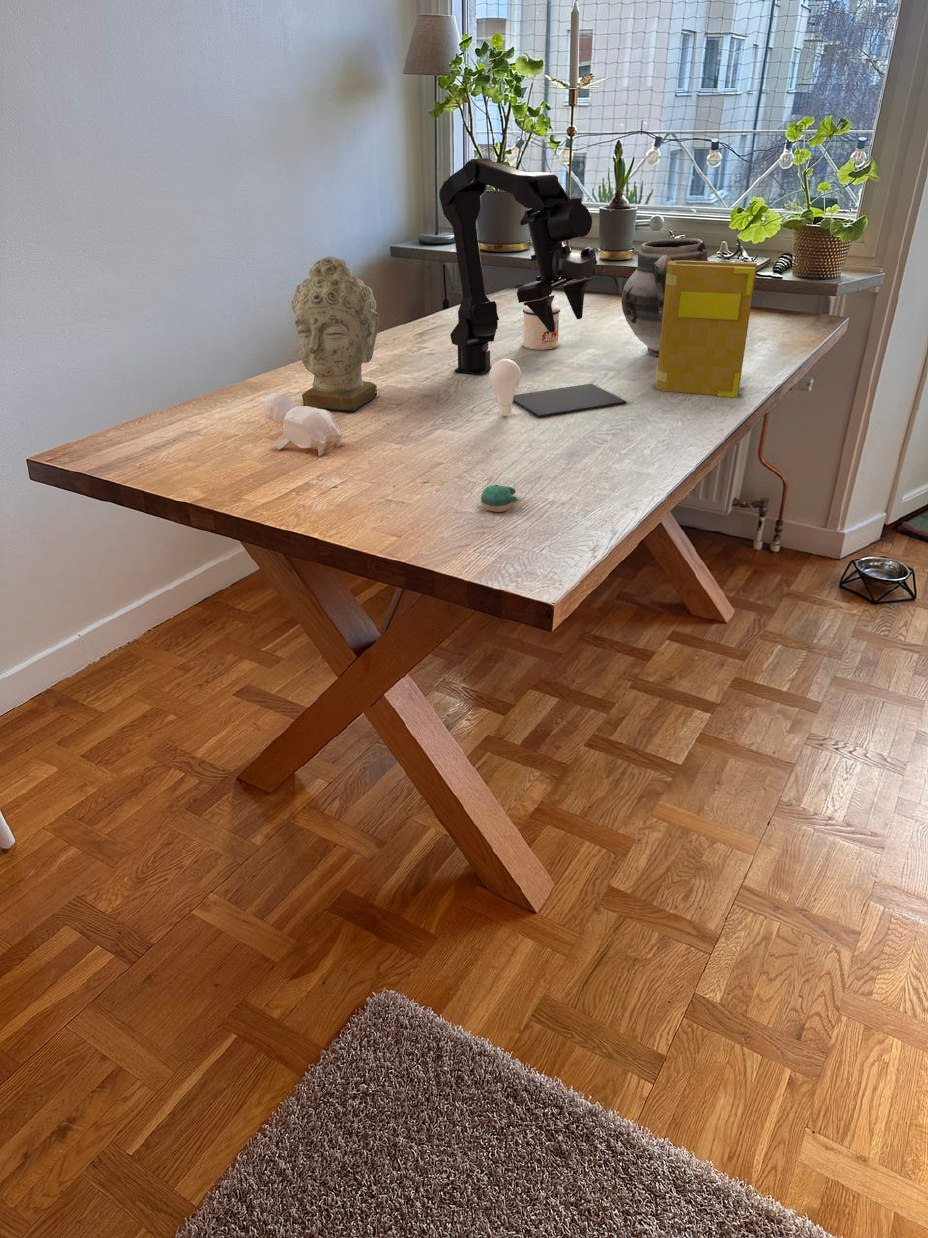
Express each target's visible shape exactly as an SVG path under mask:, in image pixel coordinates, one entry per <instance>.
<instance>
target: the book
mask: <svg viewBox="0 0 928 1238" xmlns="http://www.w3.org/2000/svg"><path fill="white" fill-rule="evenodd" d="M757 266H758V262H749V261H748V262H747V261H736V262H735V261H712V260H711V261H709V260H708V261H687V260H676V261H669V262H668V263H667V274H666V285H665V295H664V306H663V316H662V327H661V338H660V348H659V356H658V360H657V372H656V382H655V388H656V389H657V390H659V391H663V392H671V393H682V394H683V393H684V394H694V395H697V394H698V395H708V396H709V395H710V396H717V397H723V398H724V397H725V398H738V394H739V390H740V385H741V377H742V373H743V372H742V371H743V365H744V358H745V357H744V356H745V351H746V343H747V335H748V329H749V322H750V316H751V307H752V301H753V295H754V288H755V282H756V281H755V279H756V274H757Z"/></svg>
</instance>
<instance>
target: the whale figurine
mask: <svg viewBox="0 0 928 1238" xmlns="http://www.w3.org/2000/svg"><path fill="white" fill-rule="evenodd" d="M516 491H517V490H516V489H515V488H513V486H512V487H511V486H505V485H501V484H490V485H488V486H486V487H485V488H484V490H483V491H482V492H481V495H480V496H481V497H480V504H481V507H482V508H483V510H486V511H488V512H489V511H490V512H495V513H502V512H506V511H508V510H509V509H510V508H511V506H512V505H513V504H516V503H517V502H518V497H517V496H515V495H516V493H517V492H516Z"/></svg>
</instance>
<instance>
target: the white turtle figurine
mask: <svg viewBox="0 0 928 1238" xmlns="http://www.w3.org/2000/svg"><path fill="white" fill-rule="evenodd" d="M263 409H264V415H265V417H266V418H267V419H268V420H270V421H272V422H274V424H277V425H283V432H282V433H281V435H280V436H279V437H278V439H277V440H276V442H275V444H274V447H275V449H276V450H277V451H279V450H282V449H283V448H285V447H286V446H288V445H290V444H291V443H292V444H294V445H295V446H296V447H298V448H300V449H313V450H317V454H318V456H319V457H321V456H323V454H324V450H325V448H326V447H327V446H328V445H330V444H333V443H335V446H336V448H339V447H341V444H342V437H343V434H344V432H342V431H341V430H340V426H339V425H338V422H337V421H336V418H335V416H334V414H332V413H331V412H330V411H329V410H326V409H317V407H309V406H303V405H298V406H297V405H295V401H293V399H292V398H291V396H289V395H288V394H287V393H279V392H278V393H273V394H271V395H270V396H268V397H266V399H265V400H264V405H263Z"/></svg>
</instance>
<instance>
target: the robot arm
mask: <svg viewBox="0 0 928 1238" xmlns="http://www.w3.org/2000/svg"><path fill="white" fill-rule="evenodd" d="M489 187H492V188H495V189H497V190H500V191H502V192H505V193H508V194H510V195H512V196H513V198H514V201H516V203H518V204H519V205H521V206H522V207H523V208H525V209H528V210H525V211H524V214H523V216H522V218H521V219H520V222H519V225H520V226H521V227H522V226H527V227H528V230H529V235H530V239H531V243H532V248H533V252H534V254H531V255H530V260H531V262H534V261H536V264H537V269H538V273H539V275H538V276H536V277H535V280H536V281H532V282H528V283H526V284H524V285H522V286H519V287H518V289H517V291H516V297H517V300H518V304H521V303H523V306H524V307H525V306H528V307H529V308H530V309H531V310H532V311H533V312H534V313H535V314H536V316H537V317H538V318H539V319H540V320H541V322H542V323H543V324H544V325H545V327H546V328H547V329H548V330H549V332H550V333H552V332H555V323H554V318H553V312H552V306H551V304H553V302H554V299H555V294H553V295H552V293H553V289H555V288H557V287H559V286H561V287H562V290H563V292H564V294H565V297H566V298H567V302H568V303H569V305H570V308H571V310H572V312H573V315H574V316H575V318H576V320H581V319H583V312H584V302H585V293H586V289H587V287H588V285H589V284H590V283H591V282H592V280H593V276H596V269H595V266H596V265H598V260H597V255H596V252H595V249H594V248H593V247H585V248H582V249H581V252H577V253H574V252H572V250H571V247H570V246H569V244H564V242H567V241H570V240H575V239H580V238H584V237H587V235H589V233H590V232H591V230H592V226H593V217H592V215H591V213H590V211H589V208H588V207H587V206H586V205H584V204H583V199H582V197H574V198H570V196H569V195H568V193H567V192H566V191H565V189H564V188H563V186H562V185H561V183H560V181H559V177H558V176H557V175H556V174H555V173H552V172H526V171H523V170H519V169H517V168H514V167H511V166H508V165H506V164H503V163H500V162H496V161H493V160H492V159H490V158H488V157H479V158H478V157H477V158H471V159H469V160H468V161H466V163H465V164H464V166H463V167H461V168H460V169H459V170H457V171H456V172H453V174H451V175H450V176H449V177H447V180H445V181H444V182H443V183H442V184H441V188H440V189H439V194H438V197H439V201H440V206H441V209H442V213H443V215H444V217H445V219H446V220H447V221H448V223H449V225H451V227H452V232H453V238H454V245H455V252H456V259H457V265H458V266H457V267H458V272H459V280H460V286H461V293H462V299H461V302H460V305H459V308H458V310H457V319H458V320H457V321H458V322H457V324H456V325H455V327H454V328H453V330H452V331H451V332H450V334H449V336H450V341H451V344H452V345H455V346H457V367H456V368H455V369H454V372H455V373H462V374H471V375H482V374H483V373H485V372H487V371H488V370H489V371H490V370H491V367H492V365H491V349H490V348H489V343H490V342H491V343H492V342H495V337H496V333H497V330H498V326H499V321H500V318H499V315H498V305H497V302H496V301H495V300H492V301H491V299H490V298H489V297H488V295H487V294H486V288H485V281H484V274H483V267H482V258H481V251H480V243H479V238H478V236H479V235H478V230H477V221H478V218H479V215H480V213H481V209H482V199H481V198H482V197H483V196H484V195H485V193H486V192H487V191H488V188H489Z"/></svg>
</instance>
